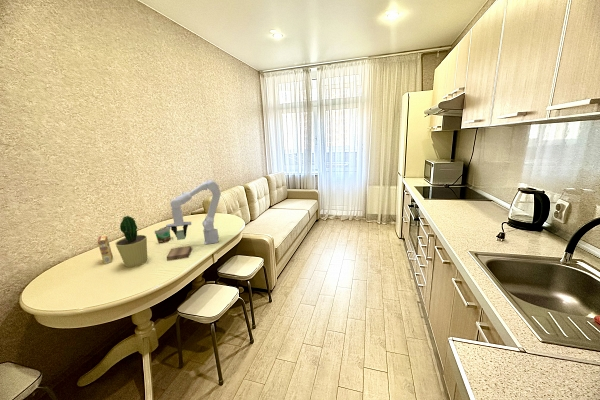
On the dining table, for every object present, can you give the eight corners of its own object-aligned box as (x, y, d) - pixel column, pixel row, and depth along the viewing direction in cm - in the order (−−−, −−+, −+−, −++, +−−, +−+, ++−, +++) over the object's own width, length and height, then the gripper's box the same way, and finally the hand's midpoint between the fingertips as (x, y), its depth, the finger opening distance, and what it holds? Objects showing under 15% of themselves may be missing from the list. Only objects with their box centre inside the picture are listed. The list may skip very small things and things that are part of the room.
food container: (164, 244, 170) (161, 231, 167) (156, 243, 171) (154, 230, 168) (176, 237, 181) (173, 224, 179) (169, 237, 183) (166, 224, 180)
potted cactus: (124, 259, 149) (113, 214, 141) (153, 254, 155) (143, 210, 147) (117, 271, 135) (104, 221, 128) (149, 265, 141) (138, 216, 133)
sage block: (186, 236, 163) (184, 229, 162) (184, 239, 159) (183, 232, 158) (179, 237, 162) (177, 230, 161) (177, 240, 158) (176, 233, 157)
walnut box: (191, 250, 160) (191, 245, 159) (188, 258, 148) (187, 253, 148) (172, 252, 157) (171, 248, 156) (167, 261, 145) (166, 256, 145)
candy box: (112, 262, 147) (106, 239, 143) (103, 264, 144) (97, 240, 141) (113, 256, 154) (107, 234, 150) (104, 258, 152) (98, 236, 148)
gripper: (190, 214, 162) (194, 232, 166) (167, 216, 159) (171, 235, 162) (188, 217, 156) (192, 236, 159) (164, 219, 152) (168, 239, 156)
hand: (181, 236), depth 160 cm, fingers closed on sage block, 4 cm apart
